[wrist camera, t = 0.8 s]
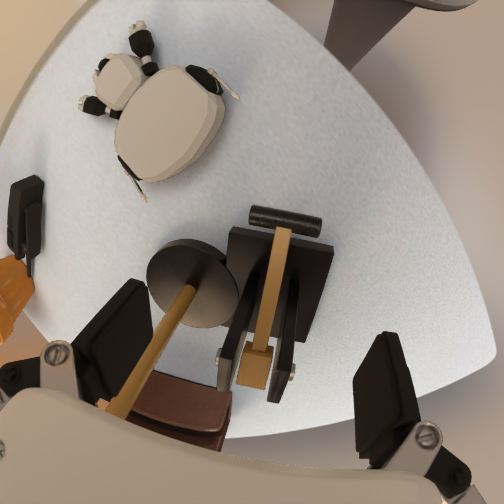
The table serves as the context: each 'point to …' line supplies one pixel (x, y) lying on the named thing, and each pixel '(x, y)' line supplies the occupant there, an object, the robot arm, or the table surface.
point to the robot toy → (156, 109)
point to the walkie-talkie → (25, 219)
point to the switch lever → (271, 288)
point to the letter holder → (183, 411)
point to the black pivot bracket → (288, 304)
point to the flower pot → (12, 293)
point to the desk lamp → (180, 304)
